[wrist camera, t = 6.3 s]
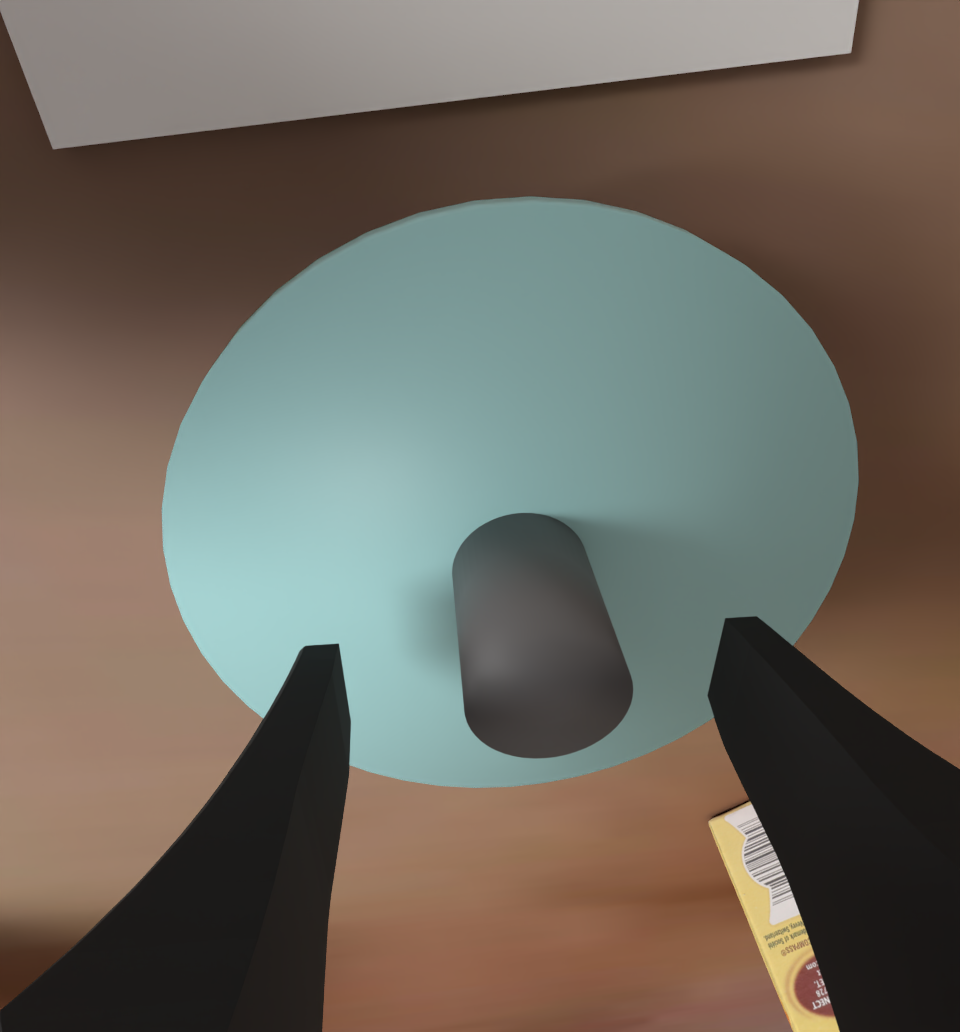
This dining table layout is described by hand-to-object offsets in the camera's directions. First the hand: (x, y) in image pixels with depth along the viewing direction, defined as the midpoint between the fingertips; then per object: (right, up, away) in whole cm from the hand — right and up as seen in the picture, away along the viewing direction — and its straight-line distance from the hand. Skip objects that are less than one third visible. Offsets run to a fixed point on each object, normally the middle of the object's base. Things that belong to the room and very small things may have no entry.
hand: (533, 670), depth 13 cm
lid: (0, +2, +2) cm, 3 cm away
